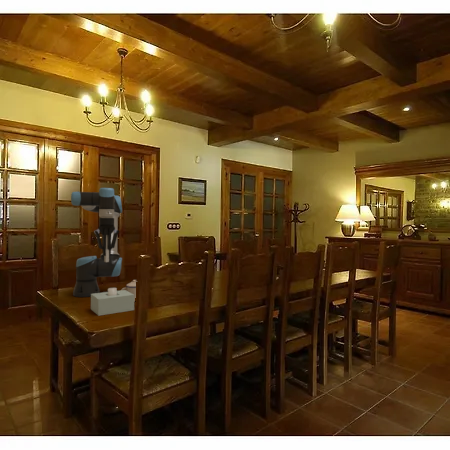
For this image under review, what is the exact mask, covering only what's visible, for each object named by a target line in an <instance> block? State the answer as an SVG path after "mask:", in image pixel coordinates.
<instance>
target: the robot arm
mask: <svg viewBox="0 0 450 450" xmlns="http://www.w3.org/2000/svg"><path fill="white" fill-rule="evenodd" d="M98 191H99V192H96V191H92V192H91V191H72V192H71V194H70V195H71V196H70V201H71V202H70V203H71V205H72V206H76V207H79V206H80V207H81V208H82V209H83V210H85V211H87V212H88V211H89V212H92V213H98V216H99V218H98V221H99V222H98V228H97V229H95V230H94V231H93V233H94V235H95V237H96V241H97V245H98V248H99V249H101V250H102V253H101V254H100V257H99V258H97V255H90V256H83V257H80V258H77V260H76V264H75V275H76V276H75V278H76V279H75V285H74V288H73V291H72V293H73V294H72V296H73V297H77V298H88V297H90V298H91V294H94V293H101V292H100V291H101V289H100V288H99V285H98V281H97V278H105V277H109V278H113V277H118V276H120V274H121V271H122V264H123V263H122V262H123V257H121V255H120V253H119V252H118V234H119V233H120V231H119V230H118V227H119V225H118V224H119V223H118V221H119V219H118V218H120V215H121V214H122V213H123V206H122V205H123V204H122V199H121V196H119V195H115V189H114V188H113V187H100V188H99V189H98ZM100 233H101V235H100ZM101 236H102V238H101ZM101 239H102V240H101Z"/></svg>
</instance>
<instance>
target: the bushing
mask: <svg viewBox="0 0 450 450" xmlns="http://www.w3.org/2000/svg"><path fill="white" fill-rule="evenodd" d="M117 289H118V288H117V287H108V288H107V292H108V296H114V295H117V291H118V290H117Z"/></svg>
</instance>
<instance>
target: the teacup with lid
mask: <svg viewBox="0 0 450 450" xmlns="http://www.w3.org/2000/svg"><path fill="white" fill-rule="evenodd" d="M136 282H137V279H133V280H132V281H131V282H129V283H126V285H125V287H123V288H121V290H126V291H128V292H130V293H132V294H134V303H136V302H135V298H136Z"/></svg>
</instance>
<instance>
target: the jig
mask: <svg viewBox="0 0 450 450" xmlns="http://www.w3.org/2000/svg"><path fill="white" fill-rule="evenodd" d="M90 310H91V311H92V312H93V313H95V314H96V315H97V316H98V317H99V316H104V315H105V316H106V315H110V314H111V315H112V314H116V313H117V314H118V313H124V312H130V311H131V312H132V311H135V302H134V294H132V293H130V292H128V291H127V289H123V290H122V289H121V290H117V295H114V296H108V291H103V292H100V293H94V294H91V296H90Z"/></svg>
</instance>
